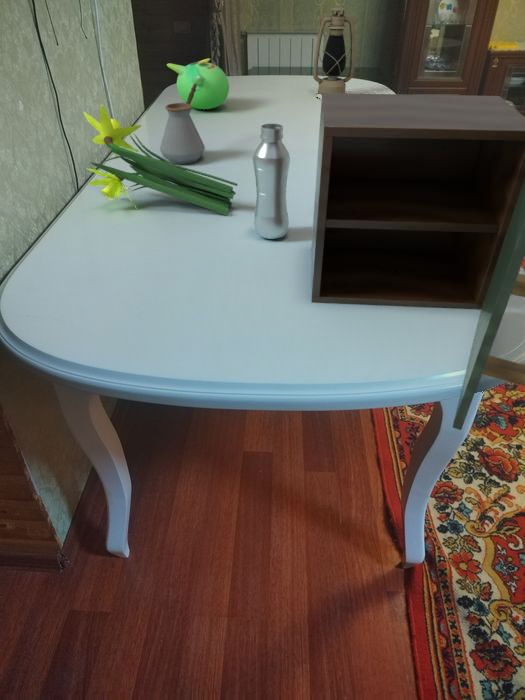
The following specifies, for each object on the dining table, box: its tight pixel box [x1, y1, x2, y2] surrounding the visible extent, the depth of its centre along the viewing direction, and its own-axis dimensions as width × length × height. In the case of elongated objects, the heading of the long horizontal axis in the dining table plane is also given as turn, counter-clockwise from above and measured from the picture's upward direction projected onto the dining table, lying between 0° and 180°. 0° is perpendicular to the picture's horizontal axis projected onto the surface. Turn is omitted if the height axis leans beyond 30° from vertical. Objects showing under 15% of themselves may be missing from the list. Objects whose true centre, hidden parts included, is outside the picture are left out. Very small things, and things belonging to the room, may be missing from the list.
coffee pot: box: [159, 83, 206, 165], centre depth 131 cm, size 21×12×15 cm, turn 169°
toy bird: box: [166, 58, 230, 111], centre depth 167 cm, size 18×17×15 cm
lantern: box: [312, 0, 359, 95], centre depth 176 cm, size 14×12×30 cm
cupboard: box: [310, 92, 525, 311], centre depth 78 cm, size 18×26×26 cm
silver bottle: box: [252, 123, 291, 240], centre depth 92 cm, size 6×7×20 cm
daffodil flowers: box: [82, 103, 239, 216], centre depth 105 cm, size 17×15×35 cm
